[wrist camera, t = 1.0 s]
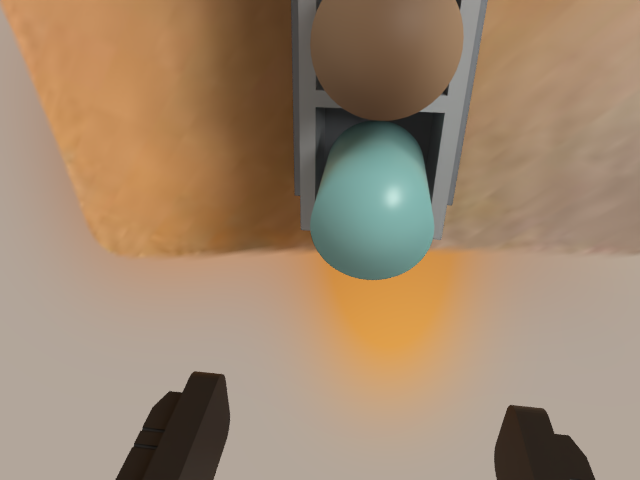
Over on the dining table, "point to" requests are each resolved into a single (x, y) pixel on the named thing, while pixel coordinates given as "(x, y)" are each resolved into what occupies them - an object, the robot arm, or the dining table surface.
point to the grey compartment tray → (425, 126)
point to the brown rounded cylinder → (386, 54)
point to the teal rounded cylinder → (373, 203)
